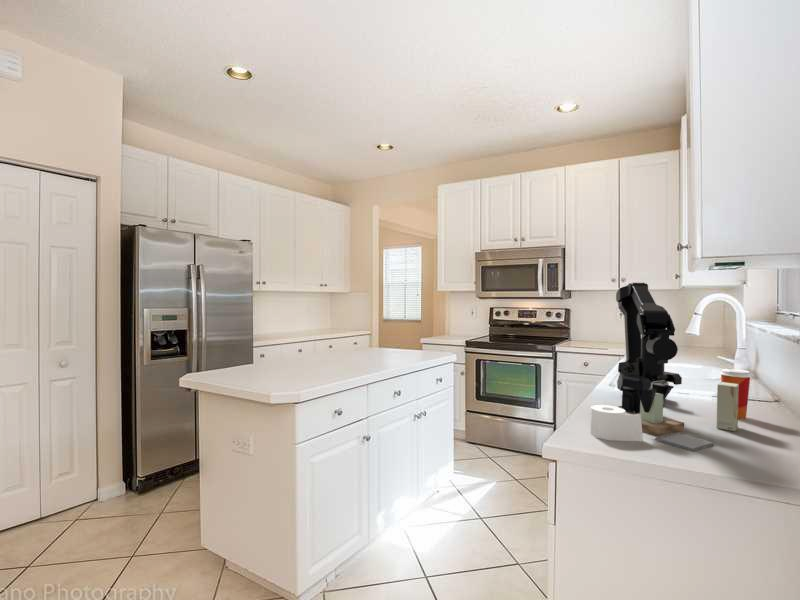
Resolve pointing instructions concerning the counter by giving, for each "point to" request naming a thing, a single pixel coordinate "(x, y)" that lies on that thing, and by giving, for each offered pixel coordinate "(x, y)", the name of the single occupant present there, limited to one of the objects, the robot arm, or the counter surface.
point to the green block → (653, 410)
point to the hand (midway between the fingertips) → (651, 411)
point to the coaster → (684, 441)
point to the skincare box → (727, 406)
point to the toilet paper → (615, 424)
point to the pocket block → (662, 427)
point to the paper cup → (743, 381)
